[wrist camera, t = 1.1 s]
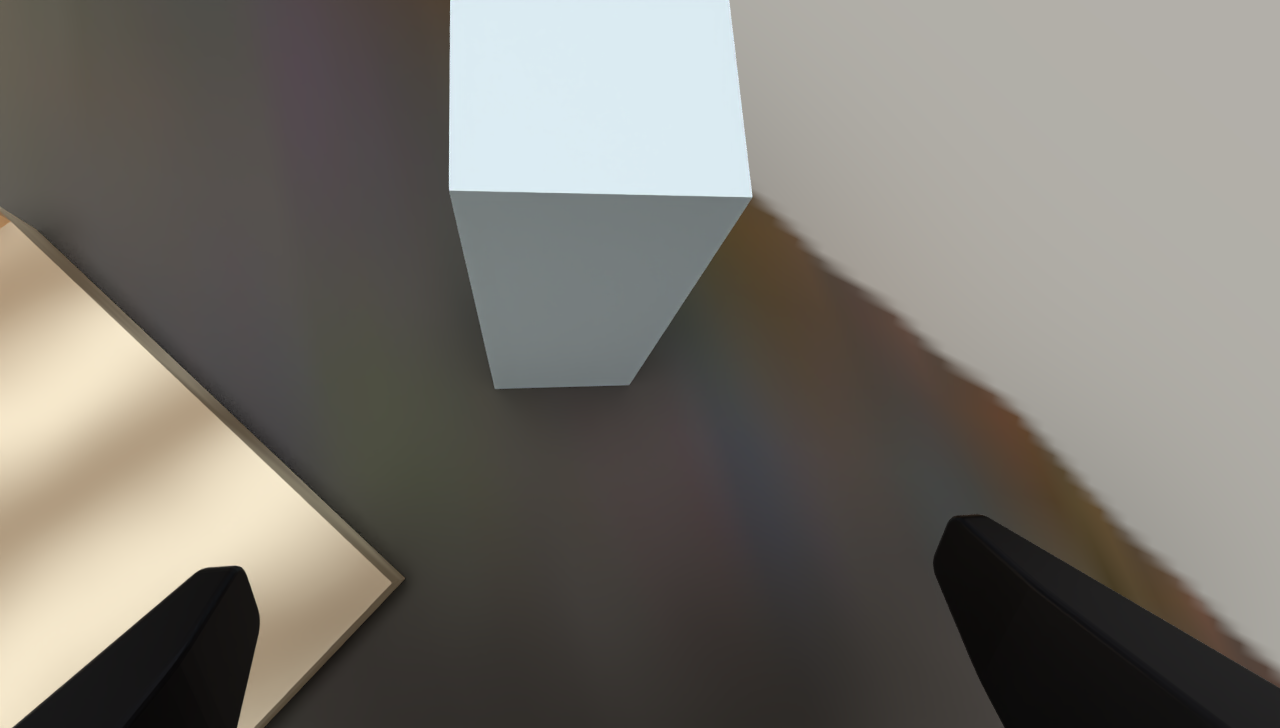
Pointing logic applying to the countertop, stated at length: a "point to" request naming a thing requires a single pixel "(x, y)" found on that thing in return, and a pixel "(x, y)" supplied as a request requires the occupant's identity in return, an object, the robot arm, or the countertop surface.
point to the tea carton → (590, 175)
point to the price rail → (3, 220)
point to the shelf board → (144, 498)
